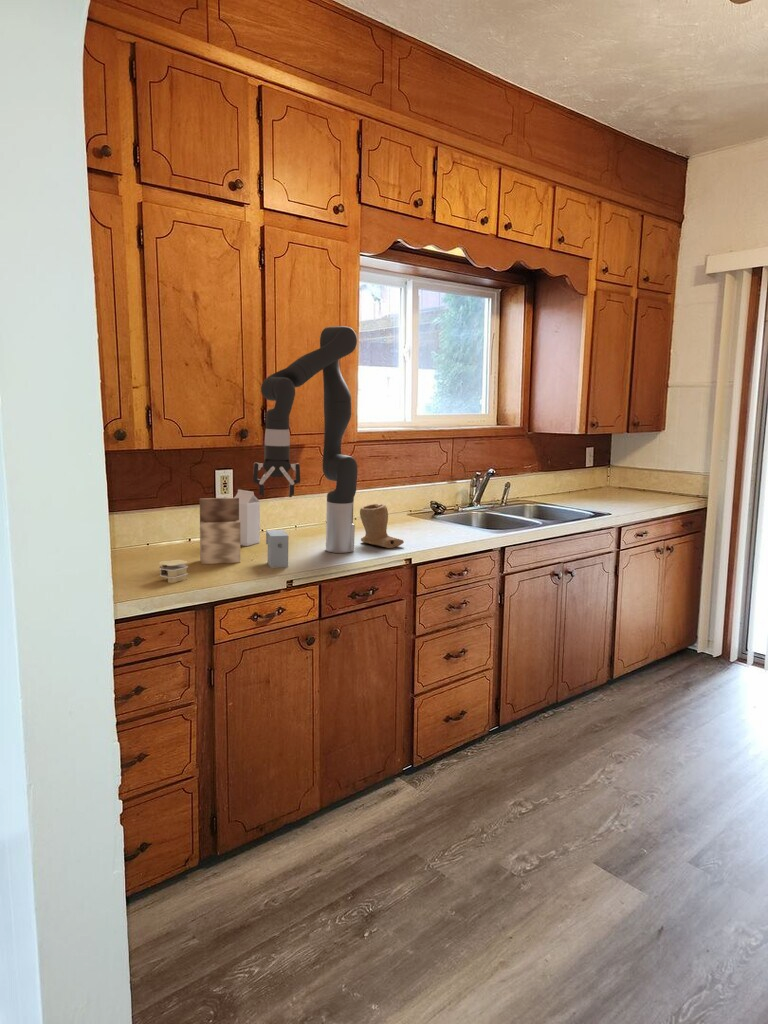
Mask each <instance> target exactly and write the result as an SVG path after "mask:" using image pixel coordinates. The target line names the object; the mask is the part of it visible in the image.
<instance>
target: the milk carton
mask: <svg viewBox="0 0 768 1024" xmlns="http://www.w3.org/2000/svg"><path fill="white" fill-rule="evenodd" d="M254 493H255V492H254V491H252V490H251V491H250V490H243V489H237V493H236V495H235V496H234V497H233V498H239V521H240V546H242V547H249V546H252V545H257V544H259V543H261V501H260V500H259V499H258V498H257V497H256V496H255V494H254Z"/></svg>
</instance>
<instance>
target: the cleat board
mask: <svg viewBox="0 0 768 1024" xmlns="http://www.w3.org/2000/svg"><path fill="white" fill-rule="evenodd" d="M199 545H200V546H199V547H200V548H199V551H200V553H199V554H200V560H199V561H200V564H201V565H210V564H211V565H213V564H231V563H233V564H235V563H241V545H240V521H239V498H234V497H209V498H208V497H206V498H201V497H200V498H199Z"/></svg>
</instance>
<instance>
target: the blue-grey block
mask: <svg viewBox="0 0 768 1024" xmlns="http://www.w3.org/2000/svg"><path fill="white" fill-rule="evenodd" d="M265 534H266V535H265V544H266V545H267V564H268V566H269V567H270V568H271V569H272V568H273V567H274V568H288V567H289V537H290V536H289V534H288V533H287V532H286V531H285V530H284V529H267V530H266V531H265Z"/></svg>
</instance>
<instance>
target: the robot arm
mask: <svg viewBox="0 0 768 1024" xmlns="http://www.w3.org/2000/svg"><path fill="white" fill-rule="evenodd" d="M356 333H357V332H356V331H355V330H354V329H353V328H352V327H350V326H343V325H341V326H326V327H325V328H323V329H322V331H321V333H320V336H319V348H317V349H315V350H313V351H310V352H308V353H306V354H304V355H302V356H300V357H299V358H297V359H295V360H294V361H293V362H292V363H290V364H289V365H288V366H287V367H285V368H283V369H280V370H279V371H277V372H274V373H273V374H271V375H269V376H267V377H266V378H265V379H264V380H263V382H262V383H261V386H260V392H261V395H262V396H263V398H264V399H266V400H267V401H272V402H275V403H274V407H273V408H270V409H268V410H266V413H265V414H266V415H265V433H264V461H263V463H260V462H257V461H256V462H254V463H253V475H252V482H253V483H255V484H258V494H259V496H261V498H264V497H265V485H264V483H265V482H266V481H267V480H268V478H269V477H271V478H284V477H285V478H286V480H287V482H288V483H289V485H288V487H289V488H288V491H289V492H288V498H293V496H294V495H295V485H297V484H300V483H301V470H300V469H301V466H300V464H299V462H295V463H290V454H291V453H290V449H291V448H290V447H291V438H290V437H291V435H290V415H291V412H292V408H293V404H294V402H295V396H296V388H299V387H301V386H303V385H304V384H305V383H307V382H308V381H309V380H310V379H312V377H314V376H315V375H316V374H318V373H319V372H321V371H322V383H323V418H324V419H323V421H324V427H323V428H324V429H323V430H324V441H323V450H322V451H323V453H322V472H323V475H324V477H325V478H326V479H327V480H329V481H333V482H336V485H335V488H334V490H331V491H329V492H327V494H326V514H325V516H326V520H325V521H326V522H325V523H326V526H325V551H327V552H329V553H333V554H334V553H335V554H347V553H350V552H355V527H356V525H355V524H354V505H355V504H354V499H355V495H356V493H357V487H358V486H357V483H358V474H359V473H358V471H359V470H358V469H359V468H358V463H357V461H356V459H355V458H354V457H353V456H350V455H346V454H342V439H343V435H344V434H345V432H346V430H347V428H348V425H349V422H350V421H351V418H352V395H351V392H350V388H349V387H348V385H347V383H346V381H345V379H344V378H343V376H342V375H343V374H342V373H341V368H340V359H343V358H345V357H346V356H349V355H350V354H352V353H353V352H354V351H355V350H356V347H357V344H358V336H357V334H356ZM262 468H263V470H265V472H264V474H263V475H262V476H261V478H260V479H259V478H258V476H259V474H258V473H259V471H260V470H261V469H262ZM291 468H292V470H293V471H294V473H295V479H293V478H292V477H291V476H290V474H289V473H288V472H289V471H290V470H291Z"/></svg>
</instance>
